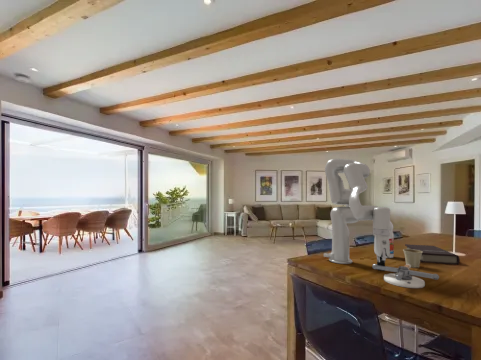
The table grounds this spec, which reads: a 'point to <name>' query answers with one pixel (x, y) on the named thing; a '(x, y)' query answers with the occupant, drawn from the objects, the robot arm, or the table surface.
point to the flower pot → (412, 257)
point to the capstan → (405, 272)
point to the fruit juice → (391, 241)
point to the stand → (404, 281)
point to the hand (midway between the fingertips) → (380, 270)
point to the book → (435, 254)
